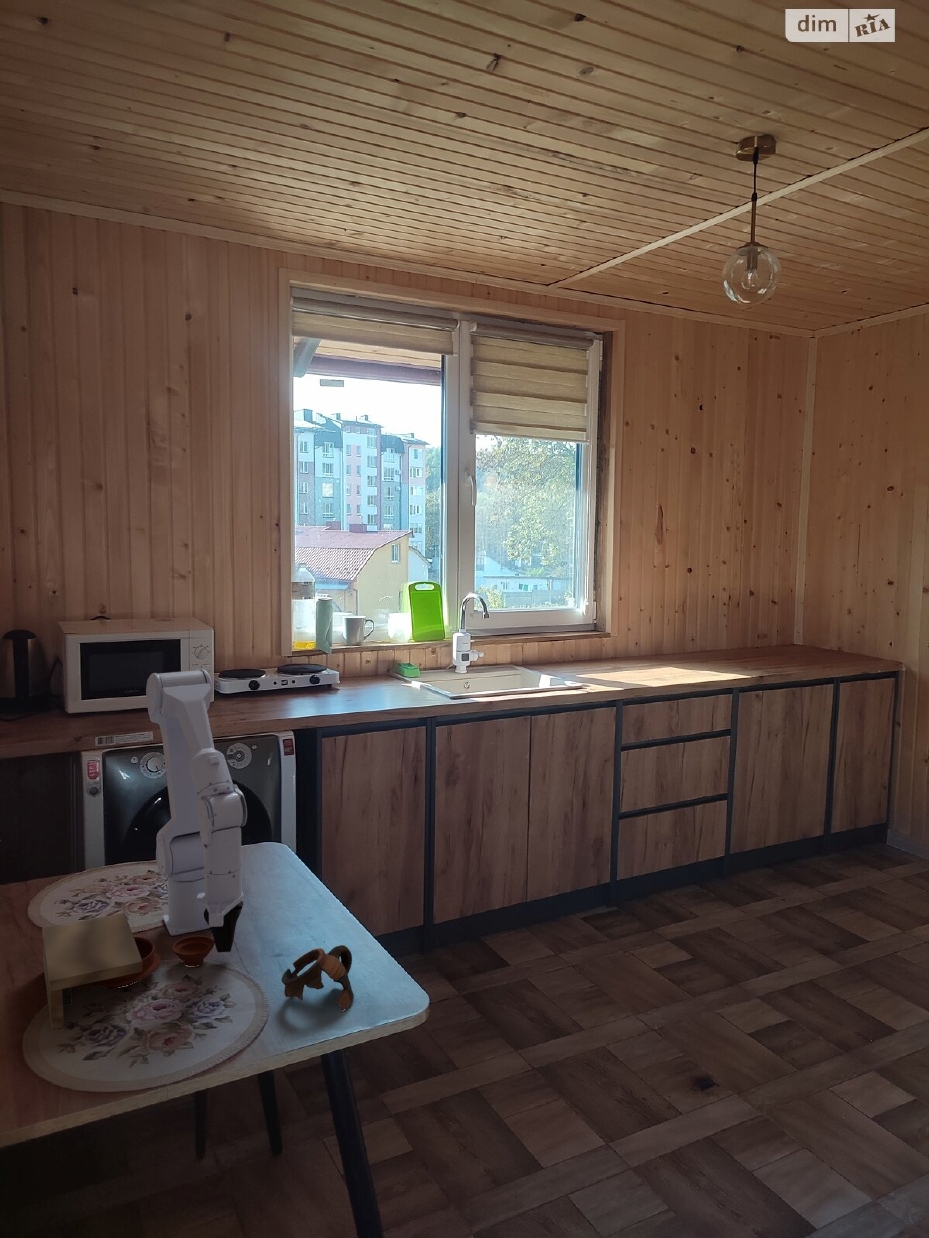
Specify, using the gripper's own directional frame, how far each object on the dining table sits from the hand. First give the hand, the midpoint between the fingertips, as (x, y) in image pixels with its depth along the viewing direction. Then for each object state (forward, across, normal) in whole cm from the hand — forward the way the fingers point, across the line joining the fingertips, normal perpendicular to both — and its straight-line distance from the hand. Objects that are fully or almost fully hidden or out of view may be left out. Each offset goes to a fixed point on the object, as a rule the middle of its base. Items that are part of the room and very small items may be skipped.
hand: (224, 950), depth 141 cm
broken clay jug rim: (+2, +13, +16) cm, 21 cm away
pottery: (+2, +3, -11) cm, 12 cm away
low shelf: (+2, +8, -18) cm, 20 cm away
